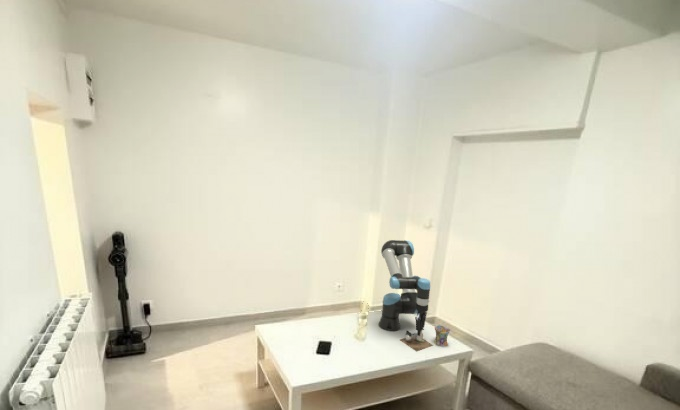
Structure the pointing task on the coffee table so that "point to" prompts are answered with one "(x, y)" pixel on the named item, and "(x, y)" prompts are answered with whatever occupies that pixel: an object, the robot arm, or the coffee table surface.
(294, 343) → the coffee table surface
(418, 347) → the brown picture tile
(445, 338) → the mug
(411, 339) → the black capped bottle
